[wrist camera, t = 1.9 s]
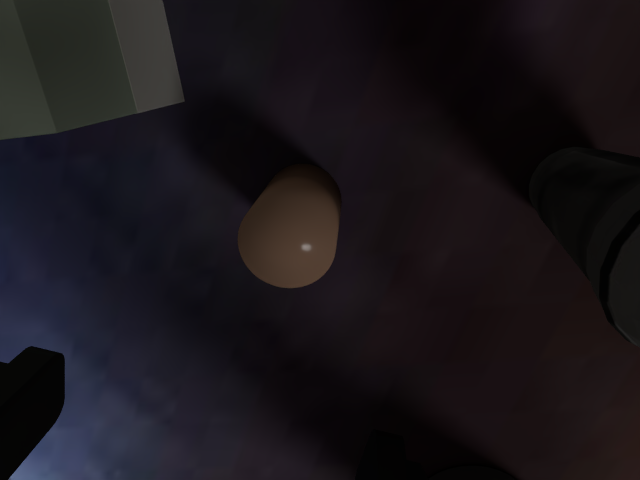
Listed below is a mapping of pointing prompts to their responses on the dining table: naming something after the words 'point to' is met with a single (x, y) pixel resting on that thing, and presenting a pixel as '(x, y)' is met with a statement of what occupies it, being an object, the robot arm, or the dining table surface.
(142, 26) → the base block
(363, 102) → the dining table surface
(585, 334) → the dining table surface
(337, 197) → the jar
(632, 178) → the beverage cup
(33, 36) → the mid block
